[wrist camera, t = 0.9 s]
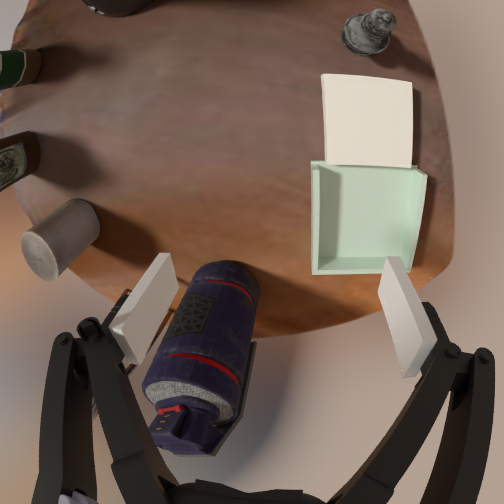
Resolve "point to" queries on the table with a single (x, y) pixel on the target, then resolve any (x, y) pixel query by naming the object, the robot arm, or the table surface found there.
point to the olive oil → (18, 158)
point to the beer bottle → (19, 67)
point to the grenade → (204, 362)
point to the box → (364, 216)
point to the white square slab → (367, 120)
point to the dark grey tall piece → (368, 32)
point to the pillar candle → (60, 238)
